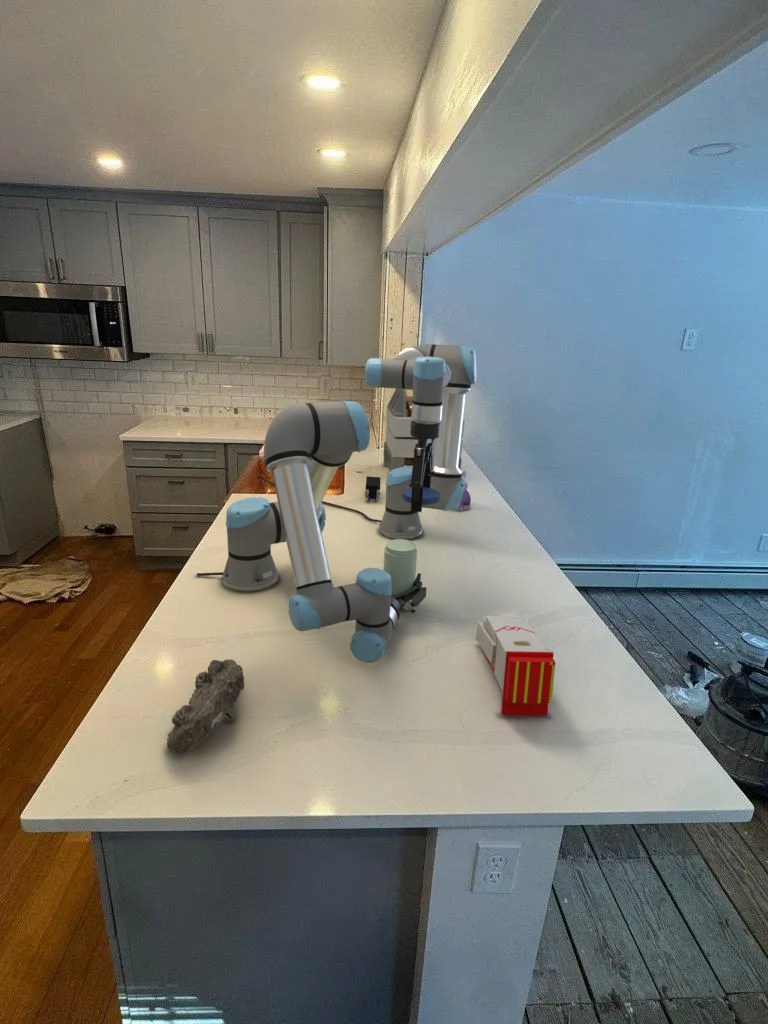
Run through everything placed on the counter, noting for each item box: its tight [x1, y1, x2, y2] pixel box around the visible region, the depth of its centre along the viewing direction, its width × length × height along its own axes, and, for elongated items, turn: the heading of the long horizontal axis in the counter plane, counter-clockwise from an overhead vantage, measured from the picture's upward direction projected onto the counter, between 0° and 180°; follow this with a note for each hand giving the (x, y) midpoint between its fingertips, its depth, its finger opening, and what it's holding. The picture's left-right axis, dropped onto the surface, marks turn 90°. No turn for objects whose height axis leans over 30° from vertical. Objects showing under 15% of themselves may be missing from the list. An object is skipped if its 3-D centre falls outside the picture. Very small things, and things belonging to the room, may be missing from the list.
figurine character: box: [364, 475, 381, 503], centre depth 235 cm, size 7×8×15 cm
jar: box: [382, 539, 418, 611], centre depth 150 cm, size 9×9×17 cm
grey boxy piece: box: [383, 389, 465, 472], centre depth 268 cm, size 34×33×41 cm
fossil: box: [166, 658, 245, 754], centre depth 106 cm, size 22×10×15 cm
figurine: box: [456, 470, 472, 511], centre depth 227 cm, size 9×10×15 cm
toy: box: [475, 615, 557, 717], centre depth 123 cm, size 12×13×30 cm
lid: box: [402, 487, 440, 505], centre depth 149 cm, size 10×10×2 cm
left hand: (402, 575), depth 155 cm, fingers closed on jar, 9 cm apart
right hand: (420, 504), depth 150 cm, fingers closed on lid, 10 cm apart
